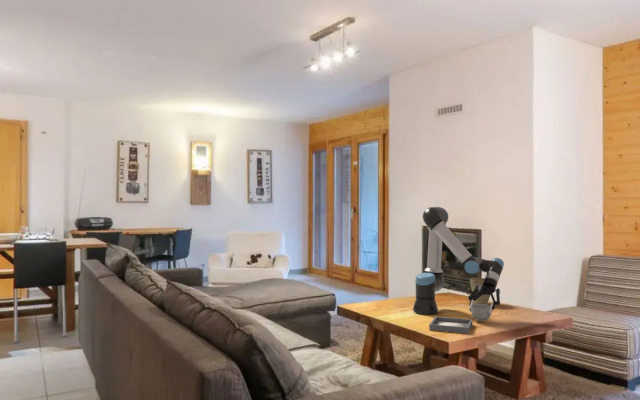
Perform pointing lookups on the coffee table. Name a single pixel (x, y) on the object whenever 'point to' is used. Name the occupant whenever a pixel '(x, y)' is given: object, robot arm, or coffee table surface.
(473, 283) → the plant pot
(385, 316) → the coffee table surface
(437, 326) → the tray
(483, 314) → the teacup
